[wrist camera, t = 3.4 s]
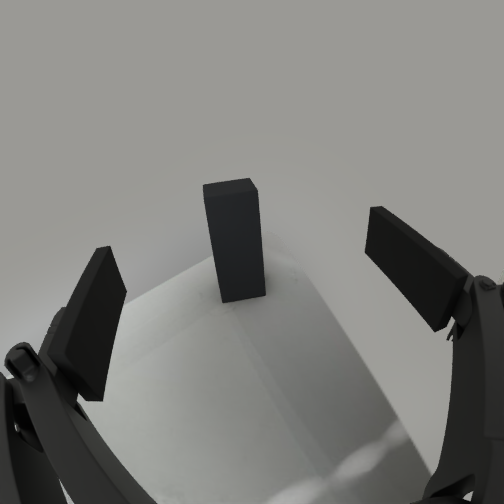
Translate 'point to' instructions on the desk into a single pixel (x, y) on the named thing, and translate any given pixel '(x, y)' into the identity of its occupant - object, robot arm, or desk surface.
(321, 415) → the desk surface
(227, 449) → the desk surface
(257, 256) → the black rectangular block
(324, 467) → the desk surface
